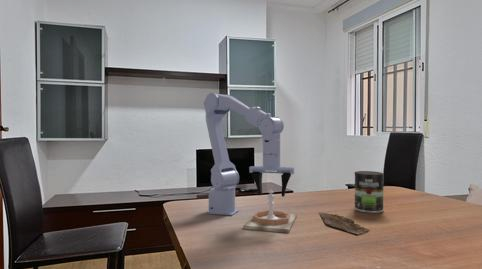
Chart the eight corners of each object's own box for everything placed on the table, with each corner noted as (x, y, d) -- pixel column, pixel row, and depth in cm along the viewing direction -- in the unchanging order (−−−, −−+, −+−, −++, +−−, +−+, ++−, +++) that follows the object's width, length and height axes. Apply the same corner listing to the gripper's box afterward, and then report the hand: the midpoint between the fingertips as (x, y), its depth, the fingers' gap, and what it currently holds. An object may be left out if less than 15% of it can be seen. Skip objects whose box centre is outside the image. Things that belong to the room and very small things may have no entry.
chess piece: (262, 218, 105) (262, 188, 105) (277, 218, 106) (276, 188, 106) (264, 222, 100) (264, 191, 100) (280, 222, 101) (280, 190, 101)
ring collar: (250, 223, 100) (250, 218, 100) (258, 213, 111) (258, 209, 111) (286, 226, 97) (286, 221, 97) (291, 216, 108) (291, 211, 108)
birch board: (243, 228, 98) (243, 225, 98) (257, 214, 115) (257, 211, 115) (289, 232, 94) (289, 229, 94) (296, 217, 111) (296, 214, 111)
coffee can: (384, 214, 114) (384, 175, 114) (353, 211, 118) (353, 173, 118) (383, 207, 123) (383, 171, 123) (355, 205, 127) (355, 170, 127)
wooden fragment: (376, 235, 92) (376, 231, 92) (340, 237, 90) (340, 233, 90) (337, 213, 117) (337, 210, 117) (308, 214, 116) (308, 211, 116)
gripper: (246, 154, 102) (246, 196, 102) (292, 155, 98) (292, 199, 98) (252, 152, 109) (252, 192, 109) (295, 153, 105) (295, 194, 105)
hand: (271, 195), depth 104 cm, fingers open, 7 cm apart
